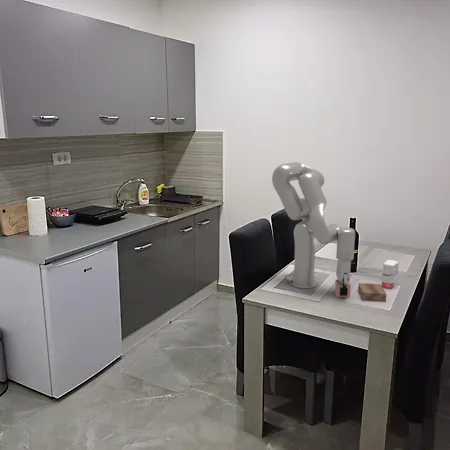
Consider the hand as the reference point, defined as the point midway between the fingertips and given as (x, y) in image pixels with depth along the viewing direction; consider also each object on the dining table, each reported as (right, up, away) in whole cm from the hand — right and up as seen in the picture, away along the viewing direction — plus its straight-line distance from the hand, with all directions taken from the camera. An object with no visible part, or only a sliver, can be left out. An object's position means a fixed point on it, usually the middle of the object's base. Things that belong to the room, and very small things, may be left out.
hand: (342, 292), depth 203 cm
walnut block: (+13, -2, -1) cm, 13 cm away
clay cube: (0, -1, 0) cm, 1 cm away
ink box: (+25, +1, +11) cm, 28 cm away
